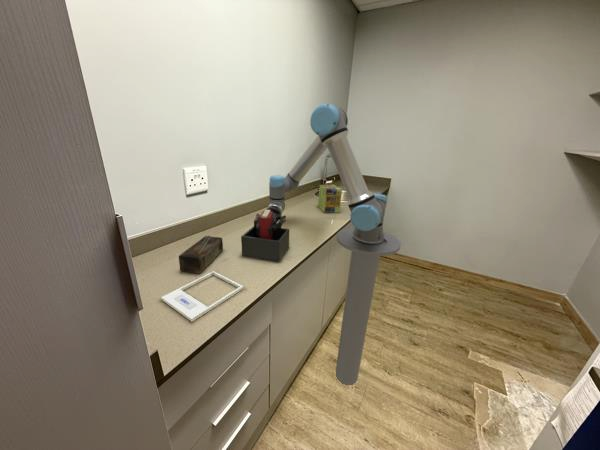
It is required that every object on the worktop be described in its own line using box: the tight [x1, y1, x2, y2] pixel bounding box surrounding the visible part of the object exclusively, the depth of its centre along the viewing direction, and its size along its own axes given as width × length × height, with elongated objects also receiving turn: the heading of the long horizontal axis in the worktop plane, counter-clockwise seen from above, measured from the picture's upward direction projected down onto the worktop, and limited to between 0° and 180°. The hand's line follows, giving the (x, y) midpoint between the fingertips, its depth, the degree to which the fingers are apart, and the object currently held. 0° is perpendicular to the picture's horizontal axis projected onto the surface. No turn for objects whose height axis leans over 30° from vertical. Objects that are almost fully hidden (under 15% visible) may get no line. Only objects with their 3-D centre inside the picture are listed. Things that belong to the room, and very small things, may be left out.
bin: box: [240, 225, 290, 263], centre depth 100 cm, size 16×14×9 cm
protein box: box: [317, 183, 343, 214], centre depth 160 cm, size 10×15×16 cm
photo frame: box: [160, 270, 244, 323], centre depth 73 cm, size 15×1×18 cm
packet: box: [259, 209, 273, 240], centre depth 97 cm, size 4×8×13 cm, turn 176°
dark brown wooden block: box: [178, 235, 224, 274], centre depth 91 cm, size 8×19×7 cm, turn 172°
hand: (263, 231), depth 92 cm, fingers closed on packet, 4 cm apart
